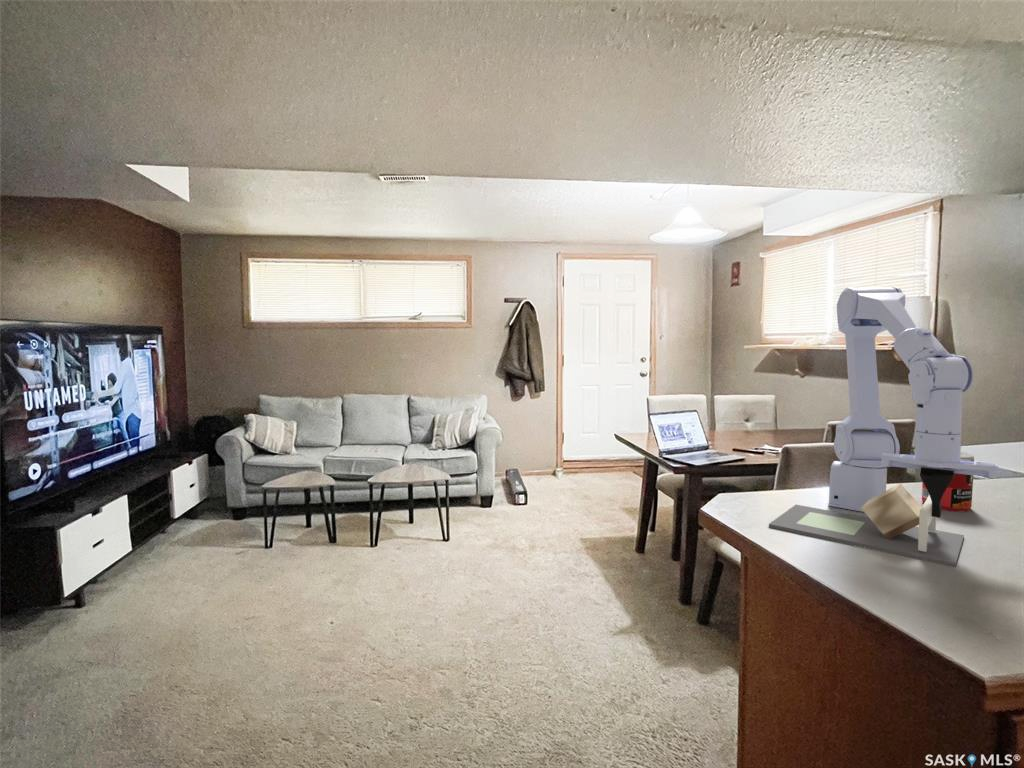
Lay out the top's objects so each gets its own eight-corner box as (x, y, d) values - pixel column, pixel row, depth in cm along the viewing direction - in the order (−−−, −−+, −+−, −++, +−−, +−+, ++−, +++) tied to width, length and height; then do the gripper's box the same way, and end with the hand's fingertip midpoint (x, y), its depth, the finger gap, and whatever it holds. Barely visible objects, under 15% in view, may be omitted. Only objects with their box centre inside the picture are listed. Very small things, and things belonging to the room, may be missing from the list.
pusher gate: (917, 550, 82) (919, 510, 82) (928, 529, 92) (930, 493, 91) (926, 551, 82) (927, 512, 81) (935, 530, 91) (937, 494, 91)
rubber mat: (768, 527, 96) (768, 523, 96) (795, 507, 108) (795, 504, 108) (955, 567, 78) (955, 563, 78) (963, 538, 90) (963, 535, 90)
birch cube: (887, 539, 88) (860, 507, 90) (893, 530, 92) (868, 500, 95) (923, 522, 84) (894, 490, 87) (928, 513, 89) (900, 483, 91)
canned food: (960, 515, 102) (963, 458, 101) (913, 504, 109) (915, 451, 109) (979, 509, 106) (982, 454, 105) (932, 499, 113) (935, 448, 112)
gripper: (878, 430, 87) (876, 512, 88) (998, 439, 77) (995, 531, 78) (886, 426, 92) (884, 503, 93) (999, 433, 82) (996, 520, 83)
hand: (935, 515), depth 86 cm, fingers closed, pressing on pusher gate
